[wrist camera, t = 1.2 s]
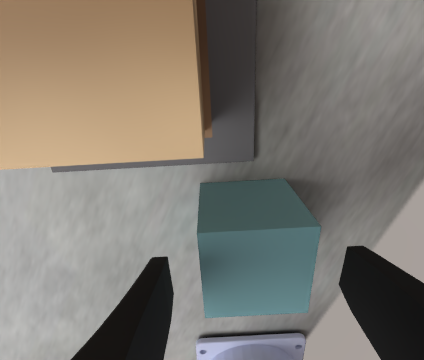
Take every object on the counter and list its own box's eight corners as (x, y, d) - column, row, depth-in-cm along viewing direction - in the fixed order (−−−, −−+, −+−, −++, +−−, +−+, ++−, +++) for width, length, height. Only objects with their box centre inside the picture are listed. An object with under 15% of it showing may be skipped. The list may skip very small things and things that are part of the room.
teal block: (279, 245, 14) (307, 312, 10) (205, 249, 14) (205, 317, 10) (284, 177, 13) (321, 226, 9) (200, 182, 13) (196, 233, 9)
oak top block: (204, 130, 8) (203, 157, 5) (44, 139, 8) (-41, 172, 5) (190, -91, 6) (175, -240, 3) (-30, -77, 6) (-240, -215, 3)
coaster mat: (252, 158, 12) (253, 161, 12) (57, 169, 12) (52, 172, 12) (256, -120, 8) (258, -130, 8) (-35, -103, 8) (-46, -111, 8)
